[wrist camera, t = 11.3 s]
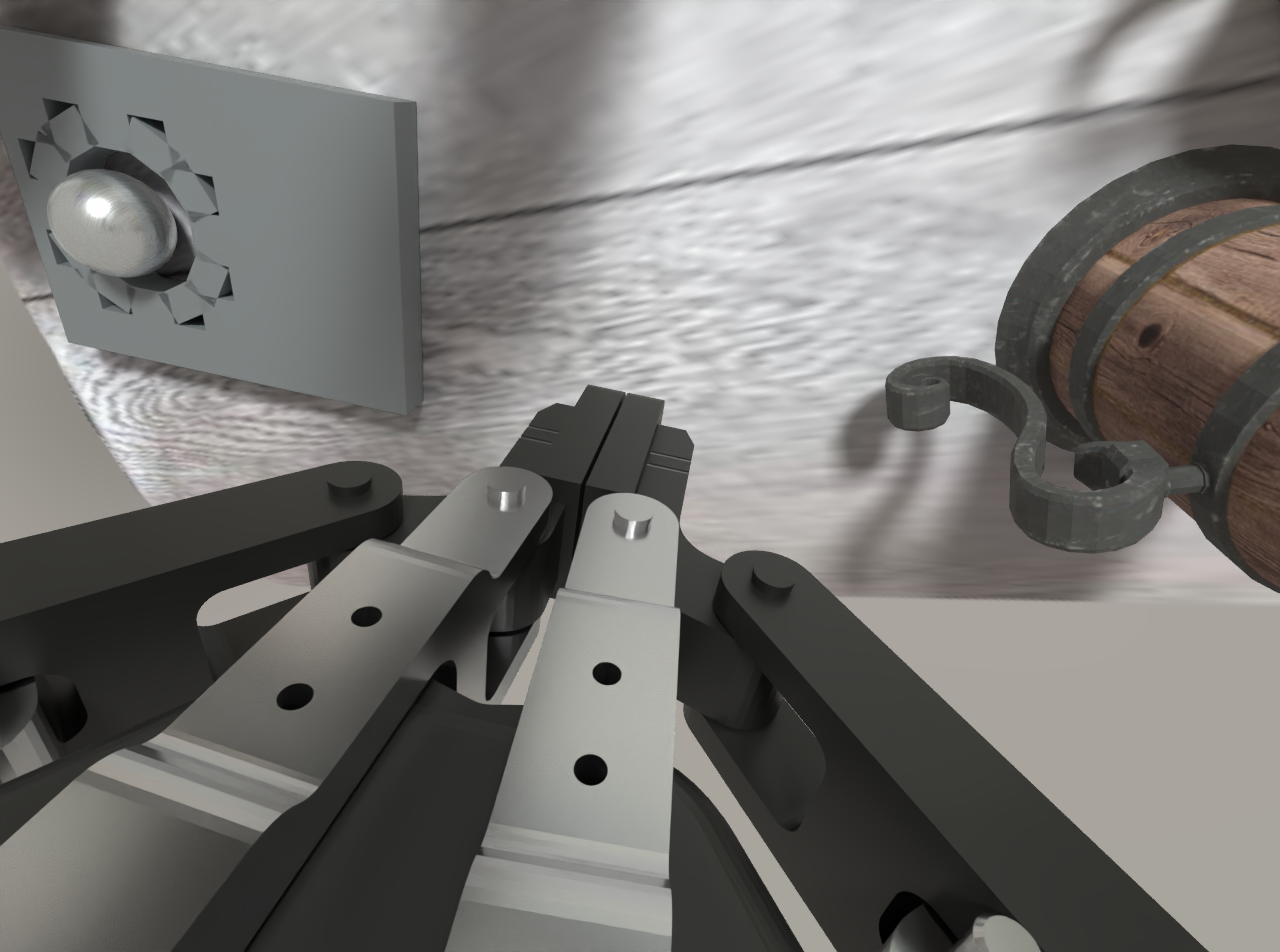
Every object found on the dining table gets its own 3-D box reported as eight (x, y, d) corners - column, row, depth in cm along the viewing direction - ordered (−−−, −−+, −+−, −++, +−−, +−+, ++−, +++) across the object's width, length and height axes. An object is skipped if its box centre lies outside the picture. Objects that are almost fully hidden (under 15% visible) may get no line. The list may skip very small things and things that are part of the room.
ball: (186, 179, 38) (131, 159, 40) (64, 182, 33) (9, 159, 36) (207, 281, 41) (154, 257, 43) (97, 296, 37) (45, 269, 39)
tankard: (1415, 100, 29) (2379, 101, 12) (1323, 437, 36) (1820, 737, 19) (861, 222, 35) (958, 341, 18) (882, 489, 42) (964, 753, 25)
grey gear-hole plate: (11, 26, 37) (-36, 22, 34) (416, 101, 35) (393, 102, 33) (100, 331, 46) (68, 342, 44) (423, 400, 45) (406, 415, 42)
